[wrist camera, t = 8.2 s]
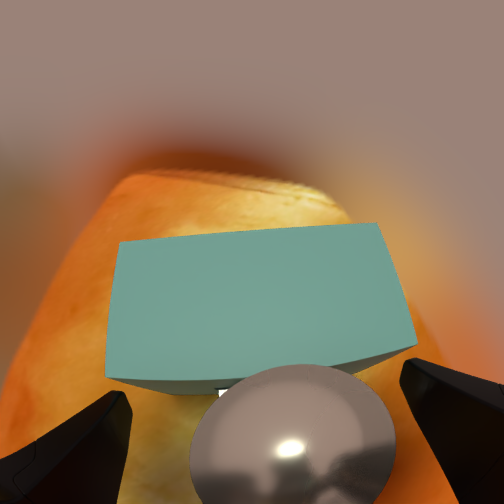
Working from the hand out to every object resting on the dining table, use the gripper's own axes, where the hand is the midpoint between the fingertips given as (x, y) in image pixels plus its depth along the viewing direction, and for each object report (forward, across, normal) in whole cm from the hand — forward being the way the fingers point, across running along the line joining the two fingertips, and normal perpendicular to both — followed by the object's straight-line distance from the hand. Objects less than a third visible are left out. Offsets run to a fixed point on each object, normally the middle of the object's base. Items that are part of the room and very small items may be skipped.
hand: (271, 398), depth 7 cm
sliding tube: (0, 0, +9) cm, 9 cm away
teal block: (+8, 0, +3) cm, 8 cm away
